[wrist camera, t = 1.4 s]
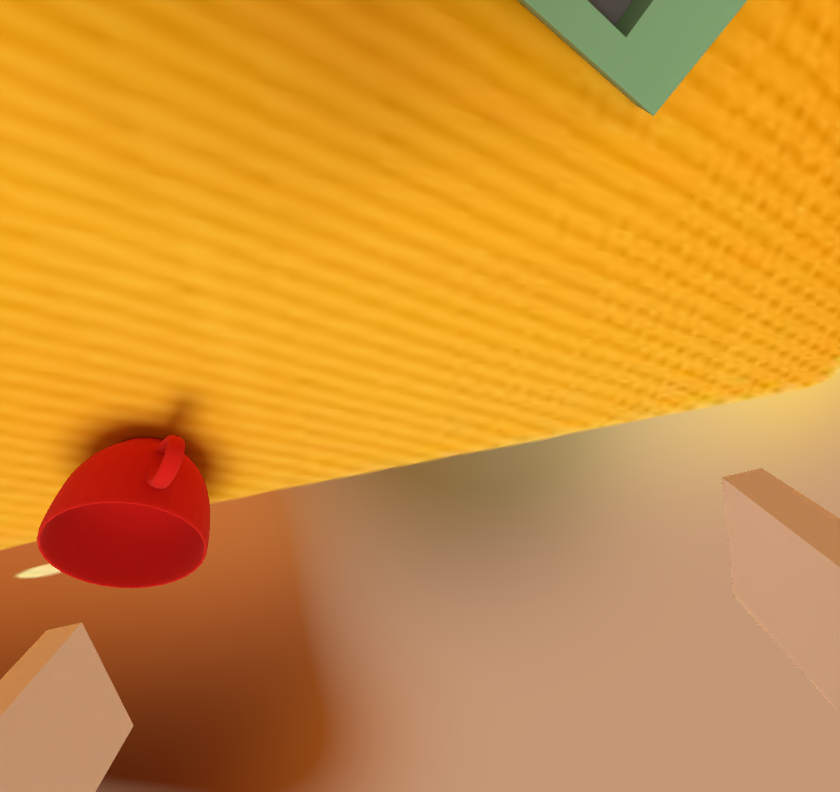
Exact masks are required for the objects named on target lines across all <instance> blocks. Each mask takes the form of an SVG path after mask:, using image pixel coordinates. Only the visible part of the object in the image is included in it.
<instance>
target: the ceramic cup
mask: <svg viewBox="0 0 840 792" xmlns="http://www.w3.org/2000/svg"><path fill="white" fill-rule="evenodd" d="M184 452H185V441H184V440H183V439H182V438H180V437H178V436H175V435H169V436H167V437H166V438H165V439H164V440H162V439H158V438H152V437H138V438H132V439H129V440H126V441H124V442H121V443H117V444H114V445H112V446H109V447H107V448H105V449H103V450H101V451H99V452H97V453H96V454H94V455H93V456H91V457H90V458H89V459H87V460H86V461H85V462H84V463H83V464H81V465H80V466H79V467H78V468H77V469H76V470H75V471H74V472H73V473H72V474H71V476H70V477H69V478H68V479H67V481H66V482H65V484H64V485H63V487H62V488H61V489H60V491H59V492H58V494H57V496H56V497H55V499H54V500H53V502H52V504H51V506H50V507H49V509H48V511H47V513H46V515H45V517H44V519H43V521H42V523H41V525H40V528H39V532H38V536H37V542H38V548H39V550H40V552H41V553H42V555H43V557H44V558H45V559H46V560H47V561H48V562H49V563H50V564H51V565H52V566H54V567H55V568H57V569H58V570H60V571H61V572H63V573H65V574H68V575H69V576H71V577H74V578H76V579H80V580H82V581H85V582H88V583H93V584H97V585H102V586H109V587H117V588H142V587H152V586H158V585H163V584H167V583H170V582H174V581H176V580H179V579H181V578H183V577H186V576H187V575H189V574H190V573H192V572H193V571H195V570H196V569H197V568H198V567H199V566H200V565H201V564H202V562H203V560H204V558H205V557H206V553H207V547H208V540H209V530H210V504H209V497H208V492H207V487H206V484H205V481H204V479H203V477H202V475H201V473H200V471H199V470H198V468H197V467H196V465H195V464H194V463H193V462H192V461H191V460H190V459H189V457H188V456H186V455H185V454H184Z"/></svg>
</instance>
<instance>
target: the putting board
mask: <svg viewBox="0 0 840 792" xmlns="http://www.w3.org/2000/svg"><path fill="white" fill-rule="evenodd" d="M518 1H519V2H520V3H521V4H522V5H523V6H525V7H526V8H527V9H528V10H529V11H530V12H531V13H533V14H534V15H535V16H536V17H537V18H538V19H539V20H540V21H542V22H543V23H544V24H545V25H546V26H547V27H548V28H549V29H551V30H552V31H553V32H554V33H555V34H556V35H557V36H559V37H560V38H561V39H562V40H563V41H564V42H565V43H566V44H568V45H569V46H570V47H571V48H572V49H573V50H574V51H576V52H577V53H578V54H579V55H580V56H581V57H582V58H583V59H585V60H586V61H587V62H588V63H589V64H590V65H591V66H592V67H594V68H595V69H596V70H597V71H598V72H599V73H600V74H602V75H603V76H604V77H605V78H606V79H607V80H608V81H609V82H611V83H612V84H613V85H614V86H615V87H616V88H617V89H619V90H620V91H621V92H622V93H623V94H624V95H625V96H626V97H628V98H629V99H630V100H631V101H632V102H633V103H634V104H635V105H637V106H638V107H640V108H641V109H643V110H645V111H646V112H648V113H650V114H651V115H653V116H654V115H655V113H656V112H657V111H658V110H659V109H660V107H661V106H662V105H663V104H664V102H665V101H666V100H667V99H668V97H669V96H670V95H671V94H672V93H673V91H674V90H675V89H676V88H677V86H678V85H679V84H680V83H681V81H682V80H683V79H684V78H685V76H686V75H687V74H688V73H689V72H690V70H691V69H692V68H693V67H694V65H695V64H696V63H697V62H698V60H699V59H700V58H701V57H702V56H703V54H704V53H705V52H706V51H707V49H708V48H709V47H710V46H711V44H712V43H713V42H714V41H715V40H716V38H717V37H718V36H719V35H720V33H721V32H722V31H723V30H724V28H725V27H726V26H727V25H728V23H729V22H730V21H731V20H732V19H733V17H734V16H735V15H736V14H737V12H738V11H739V10H740V9H741V7H742V6H743V5H744V4H745V3H746V1H747V0H518Z"/></svg>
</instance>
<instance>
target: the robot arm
mask: <svg viewBox="0 0 840 792" xmlns="http://www.w3.org/2000/svg"><path fill="white" fill-rule="evenodd" d="M722 484H723V494H724V505H725V515H726V525H727V535H728V545H729V555H730V565H731V574H732V585H733V595H734V597H735V599H736V600H737V601H738V602H739V603H740V604H741V605H742V606H743V607H744V609H745V610H746V611H747V612H748V613H749V614H750V615H751V616H752V617H753V619H754V620H755V621H756V622H757V623H758V624H759V625H760V626H761V627H762V628H763V630H765V632H766V633H767V634H768V635H769V636H770V637H771V638H772V640H774V642H775V643H776V644H777V645H778V646H779V647H780V648H781V649H782V650H783V652H784V653H785V654H786V655H787V656H788V657H789V658H790V659H791V660H792V661H793V663H794V664H795V665H796V666H797V667H798V668H799V669H800V670H801V671H802V673H803V674H804V675H805V676H806V677H807V678H808V679H809V680H810V681H811V683H813V685H814V686H815V687H816V688H817V689H818V690H819V691H820V692H821V694H822V695H824V697H825V698H826V699H827V700H828V701H829V702H830V704H832V706H833V707H834V708H835V709H836V710H837V711H838V712H839V713H840V519H839V518H838V517H836V516H834V515H833V514H831V513H830V512H828V511H826V510H825V509H824V508H822V507H821V506H819V505H817V504H816V503H814V502H813V501H811V500H810V499H808V498H807V497H805V496H804V495H802V494H801V493H799V492H798V491H796V490H794V489H793V488H791V487H790V486H788V485H787V484H785V483H784V482H782V481H781V480H779V479H777V478H776V477H774V476H773V475H771V474H770V473H768V472H767V471H765V470H763V469H762V468H761V469H756V470H752V471H748V472H743V473H739V474H735V475H730V476H726V477H722ZM132 727H133V724H132V722H131V720H130V718H129V716H128V714H127V712H126V710H125V708H124V706H123V704H122V702H121V700H120V698H119V696H118V694H117V692H116V690H115V688H114V686H113V684H112V682H111V680H110V678H109V676H108V674H107V672H106V670H105V668H104V666H103V664H102V662H101V660H100V658H99V656H98V654H97V652H96V650H95V648H94V646H93V644H92V642H91V640H90V638H89V636H88V634H87V632H86V630H85V628H84V626H83V624H82V623H78V624H73V625H69V626H64V627H60V628H56V629H51V630H47V631H46V632H45V633H44V634H43V635H42V636H41V637H40V638H39V640H37V642H36V643H35V644H34V645H33V646H32V647H31V648H30V649H29V650H28V651H27V652H26V654H24V656H22V657H21V659H20V660H19V661H18V662H17V663H16V664H15V665H14V666H13V667H12V668H11V669H10V670H9V671H8V672H7V673H6V675H5V676H4V677H3V678H2V679H1V680H0V792H95V791H96V790H97V788H98V786H99V784H100V783H101V781H102V779H103V778H104V776H105V774H106V772H107V770H108V769H109V767H110V765H111V764H112V762H113V760H114V758H115V757H116V755H117V753H118V751H119V749H120V748H121V746H122V744H123V743H124V741H125V739H126V737H127V736H128V734H129V732H130V730H131V729H132Z"/></svg>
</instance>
